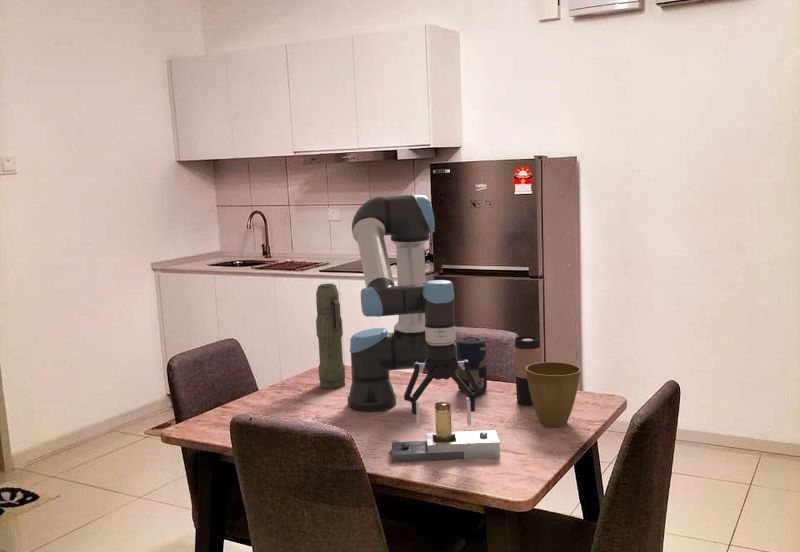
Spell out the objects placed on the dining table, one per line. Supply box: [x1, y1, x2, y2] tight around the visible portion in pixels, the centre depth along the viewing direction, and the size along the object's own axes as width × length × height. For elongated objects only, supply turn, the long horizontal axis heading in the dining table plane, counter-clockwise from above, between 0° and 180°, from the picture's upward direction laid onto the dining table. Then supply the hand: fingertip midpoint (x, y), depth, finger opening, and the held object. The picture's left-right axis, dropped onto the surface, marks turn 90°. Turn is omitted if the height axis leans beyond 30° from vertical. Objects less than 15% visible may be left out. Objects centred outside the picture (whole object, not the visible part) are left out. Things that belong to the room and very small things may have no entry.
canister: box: [456, 336, 488, 393], centre depth 254 cm, size 10×10×18 cm
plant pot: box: [526, 361, 582, 429], centre depth 219 cm, size 15×15×16 cm
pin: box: [434, 401, 453, 443], centre depth 200 cm, size 4×4×13 cm
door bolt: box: [391, 429, 501, 463], centre depth 200 cm, size 9×27×5 cm, turn 91°
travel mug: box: [514, 335, 542, 407], centre depth 239 cm, size 8×8×20 cm
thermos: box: [315, 283, 346, 390], centre depth 267 cm, size 9×12×35 cm
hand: (443, 425), depth 200 cm, fingers open, 12 cm apart
